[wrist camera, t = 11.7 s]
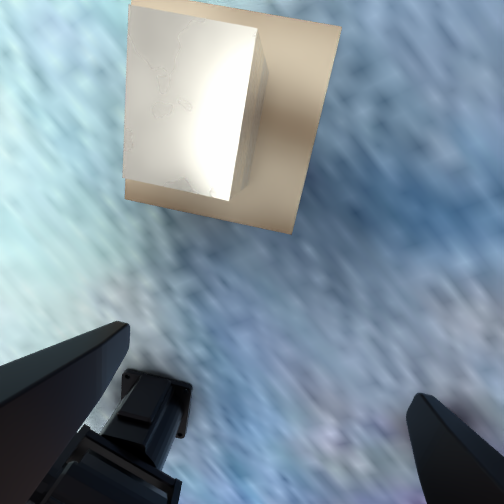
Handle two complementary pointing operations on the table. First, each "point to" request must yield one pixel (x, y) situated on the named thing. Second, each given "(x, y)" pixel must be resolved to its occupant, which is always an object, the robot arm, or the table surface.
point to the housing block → (192, 102)
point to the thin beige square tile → (264, 119)
